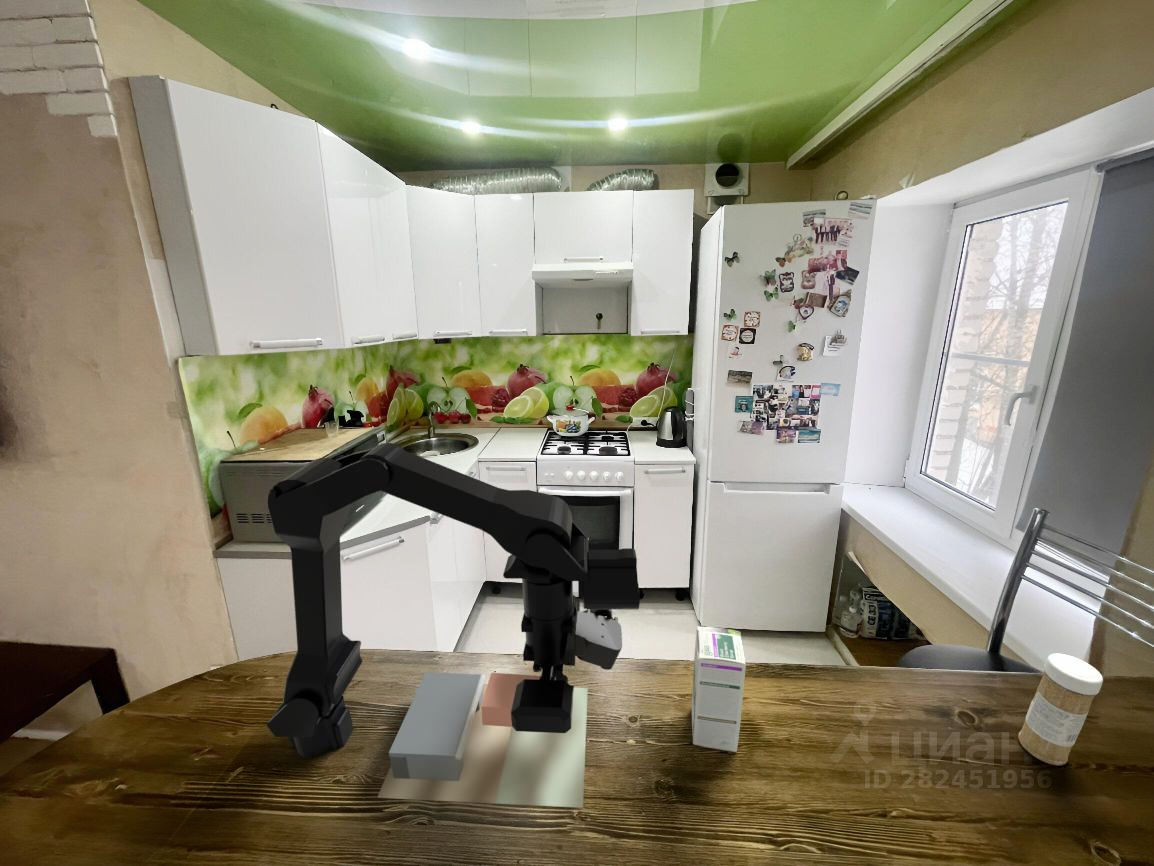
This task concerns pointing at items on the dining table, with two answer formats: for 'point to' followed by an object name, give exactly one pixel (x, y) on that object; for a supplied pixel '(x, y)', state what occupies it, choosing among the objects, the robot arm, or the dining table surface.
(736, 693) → the syrup box
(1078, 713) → the sprinkles bottle
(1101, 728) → the dining table surface
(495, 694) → the pink eraser
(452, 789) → the board
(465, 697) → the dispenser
